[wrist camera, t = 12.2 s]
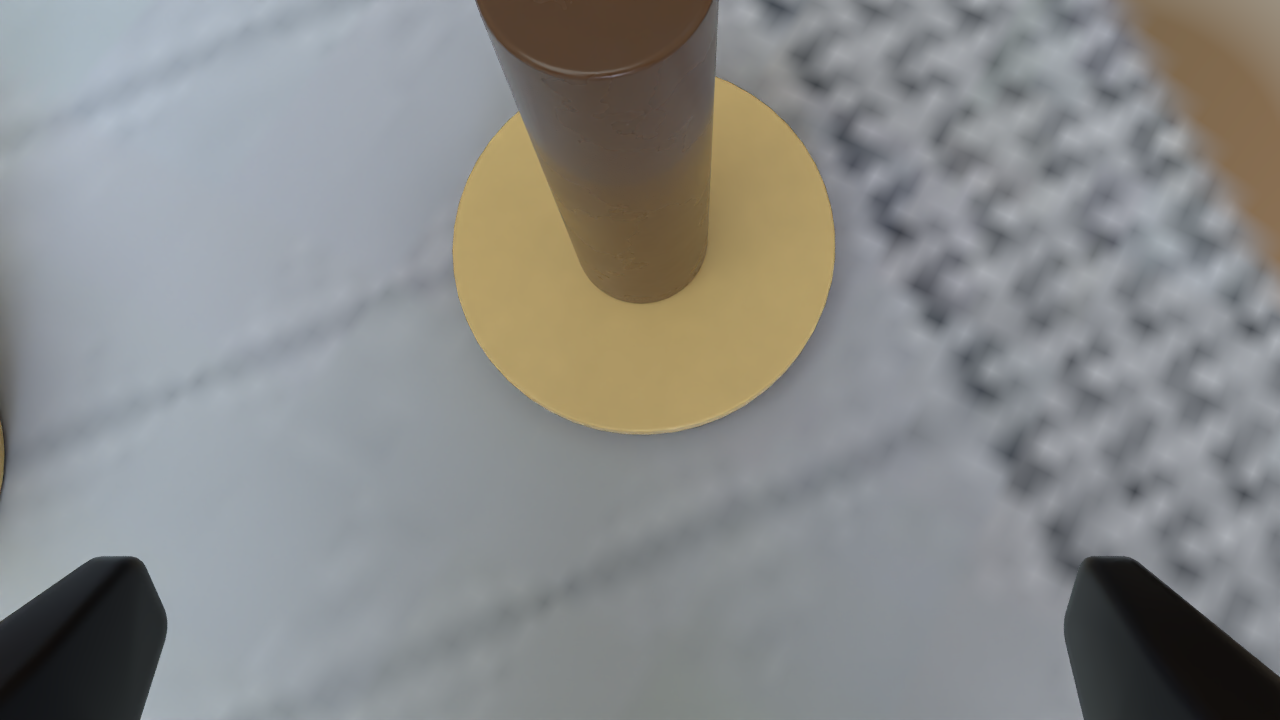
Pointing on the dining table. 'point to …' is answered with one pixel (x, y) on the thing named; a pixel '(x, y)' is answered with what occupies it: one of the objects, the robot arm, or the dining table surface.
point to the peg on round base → (637, 220)
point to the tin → (1, 455)
